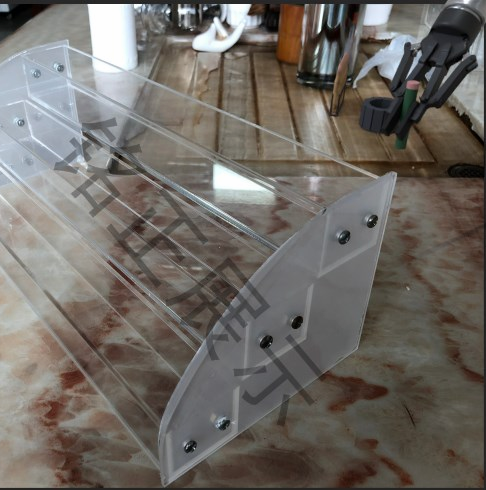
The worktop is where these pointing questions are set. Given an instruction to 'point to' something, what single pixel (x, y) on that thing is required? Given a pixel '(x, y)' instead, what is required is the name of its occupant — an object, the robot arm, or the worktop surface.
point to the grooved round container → (375, 114)
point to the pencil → (408, 100)
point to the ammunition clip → (339, 87)
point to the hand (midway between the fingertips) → (391, 134)
